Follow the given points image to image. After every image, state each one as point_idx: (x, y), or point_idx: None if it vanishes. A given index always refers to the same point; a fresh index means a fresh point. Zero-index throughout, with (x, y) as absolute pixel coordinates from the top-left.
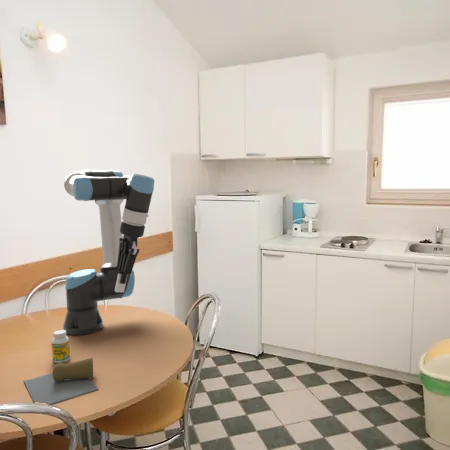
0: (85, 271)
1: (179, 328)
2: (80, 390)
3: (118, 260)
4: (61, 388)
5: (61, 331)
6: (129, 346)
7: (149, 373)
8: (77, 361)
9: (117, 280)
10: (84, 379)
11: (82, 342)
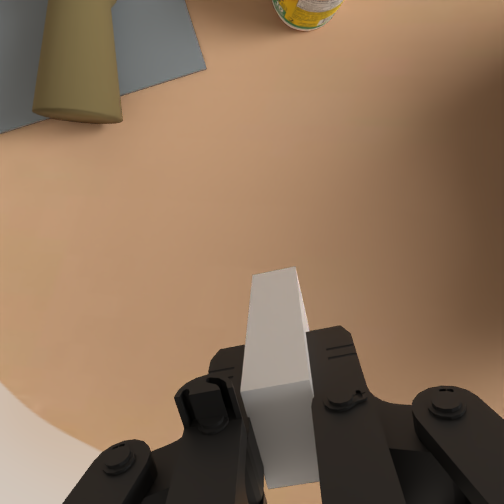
0: None
1: None
2: None
3: (498, 485)
4: (21, 2)
5: None
6: (341, 280)
7: (58, 331)
8: (84, 46)
9: (274, 324)
10: None
11: (462, 85)
